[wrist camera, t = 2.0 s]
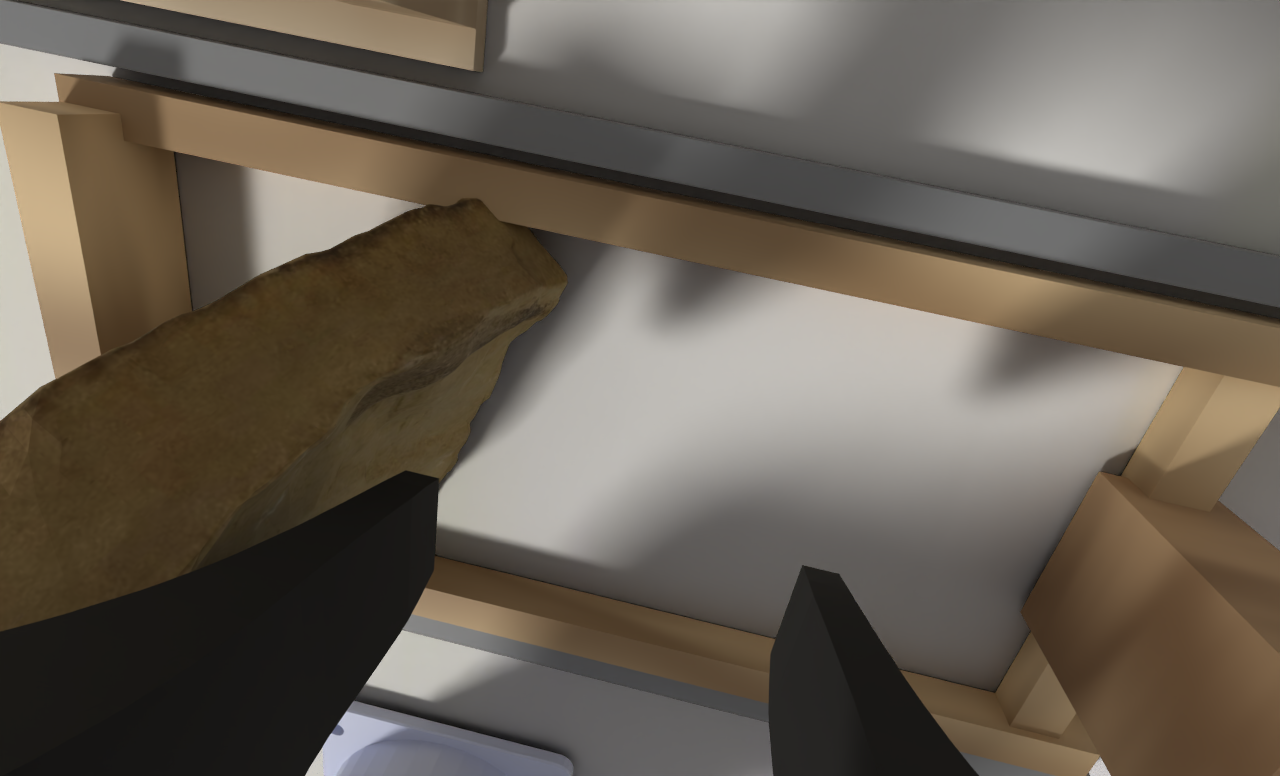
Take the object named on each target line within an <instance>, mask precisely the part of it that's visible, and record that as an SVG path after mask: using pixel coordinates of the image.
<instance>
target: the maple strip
mask: <svg viewBox="0 0 1280 776" xmlns="http://www.w3.org/2000/svg"><path fill="white" fill-rule="evenodd" d="M122 1H127V2H132V3H137V4H142V5H147V6H152V7H157V8H162V9H167V10H172V11H177V12H182V13H187V14H192V15H197V16H202V17H207V18H212V19H217V20H222V21H227V22H232V23H237V24H242V25H247V26H252V27H257V28H262V29H267V30H272V31H277V32H282V33H287V34H292V35H297V36H302V37H307V38H312V39H317V40H322V41H327V42H332V43H337V44H342V45H347V46H352V47H357V48H362V49H367V50H372V51H377V52H382V53H387V54H392V55H396V56H401V57H406V58H411V59H416V60H421V61H426V62H431V63H436V64H441V65H446V66H451V67H456V68H461V69H466V70H471V71H478V72H483V63H484V49H485V35H486V21H487V7H488V0H122Z"/></svg>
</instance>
